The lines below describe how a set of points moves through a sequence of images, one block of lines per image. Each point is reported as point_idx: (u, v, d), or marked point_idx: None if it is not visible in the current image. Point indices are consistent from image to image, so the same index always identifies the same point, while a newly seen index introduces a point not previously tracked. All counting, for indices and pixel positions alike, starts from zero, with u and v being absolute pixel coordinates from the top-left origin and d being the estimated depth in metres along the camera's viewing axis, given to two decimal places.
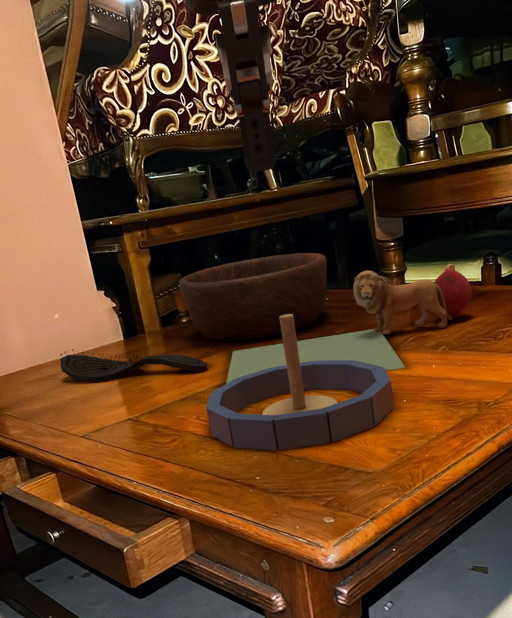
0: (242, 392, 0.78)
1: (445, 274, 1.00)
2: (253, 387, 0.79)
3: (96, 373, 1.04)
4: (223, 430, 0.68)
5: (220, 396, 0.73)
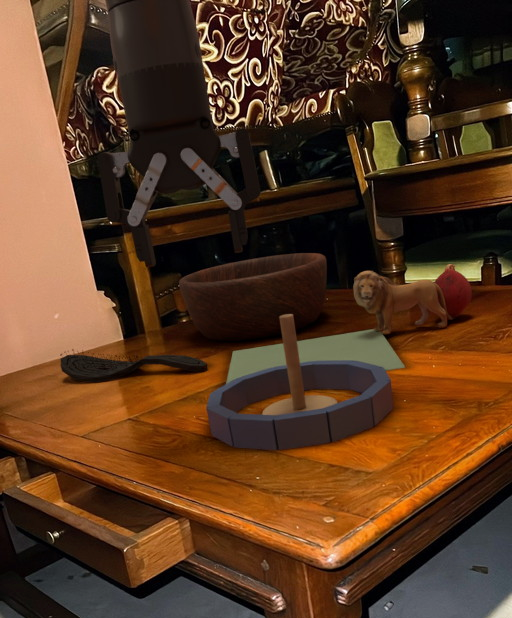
0: (242, 392, 0.78)
1: (445, 274, 1.00)
2: (253, 387, 0.79)
3: (96, 373, 1.04)
4: (223, 430, 0.68)
5: (220, 396, 0.73)
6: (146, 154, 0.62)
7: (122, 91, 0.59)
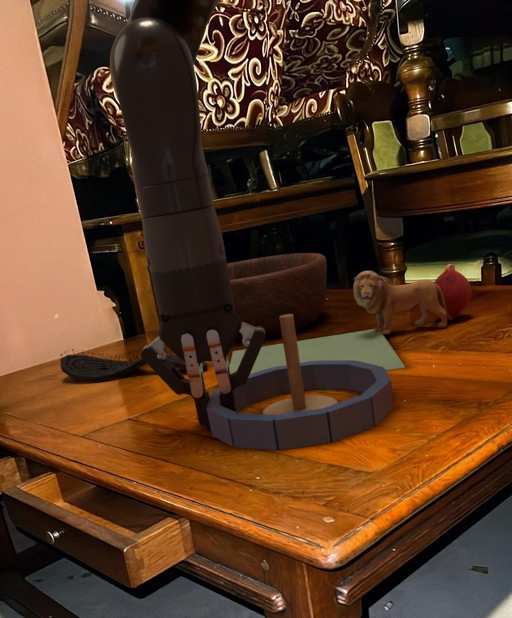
0: (242, 392, 0.78)
1: (445, 274, 1.00)
2: (253, 387, 0.79)
3: (96, 373, 1.04)
4: (223, 430, 0.68)
5: None
6: (175, 333, 0.69)
7: (154, 283, 0.67)
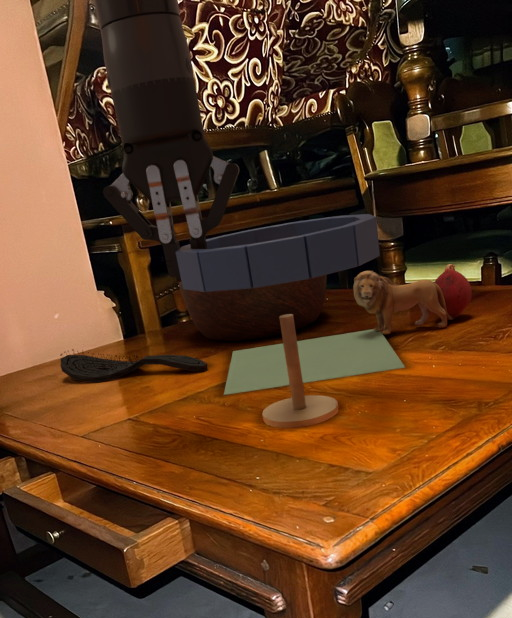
0: None
1: (445, 274, 1.00)
2: (229, 247, 0.73)
3: (96, 373, 1.04)
4: (193, 270, 0.62)
5: None
6: (140, 166, 0.63)
7: (116, 106, 0.61)
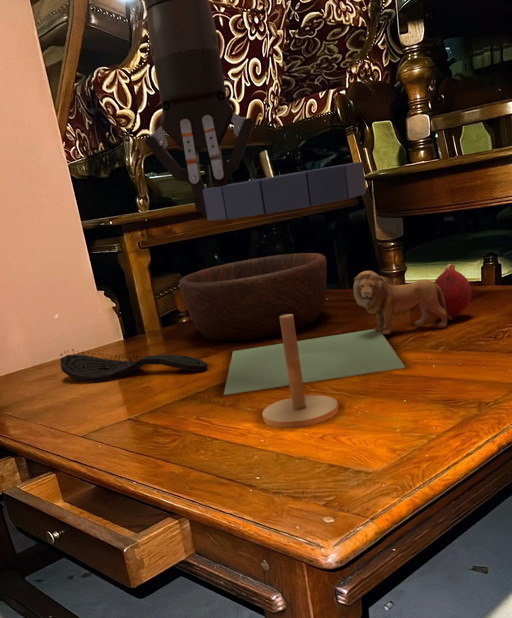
0: None
1: (445, 274, 1.00)
2: None
3: (96, 373, 1.04)
4: (217, 202, 0.78)
5: None
6: (175, 120, 0.79)
7: (157, 71, 0.77)
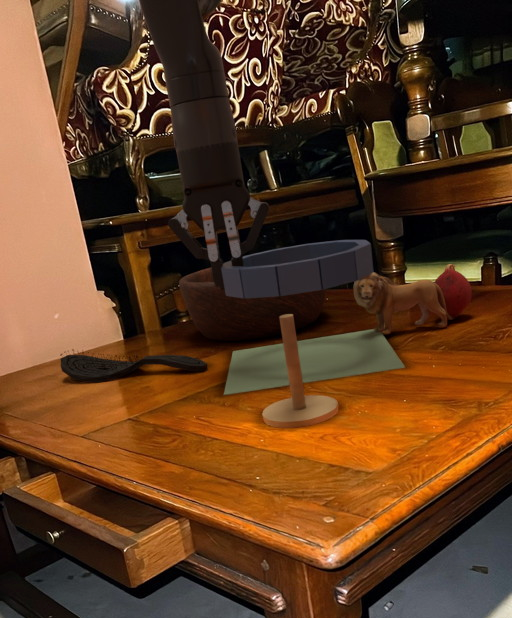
0: (249, 266, 0.94)
1: (445, 274, 1.00)
2: (258, 263, 0.95)
3: (96, 373, 1.04)
4: (235, 282, 0.84)
5: None
6: (196, 205, 0.85)
7: (180, 161, 0.83)
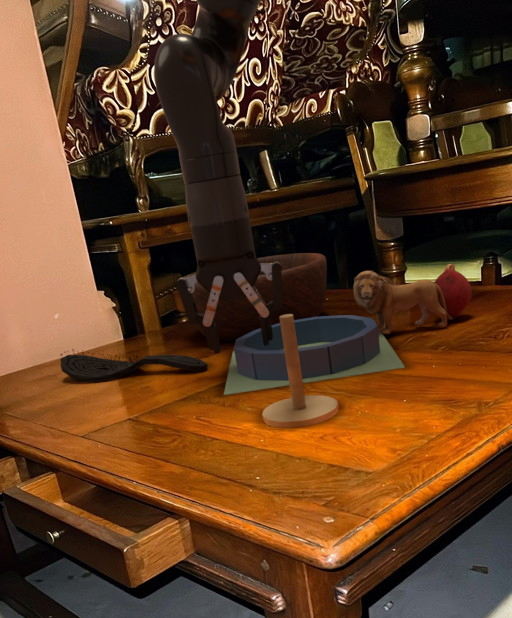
0: (260, 340, 0.98)
1: (445, 274, 1.00)
2: None
3: (96, 373, 1.04)
4: (247, 364, 0.88)
5: (244, 340, 0.93)
6: (209, 275, 0.88)
7: (194, 235, 0.86)
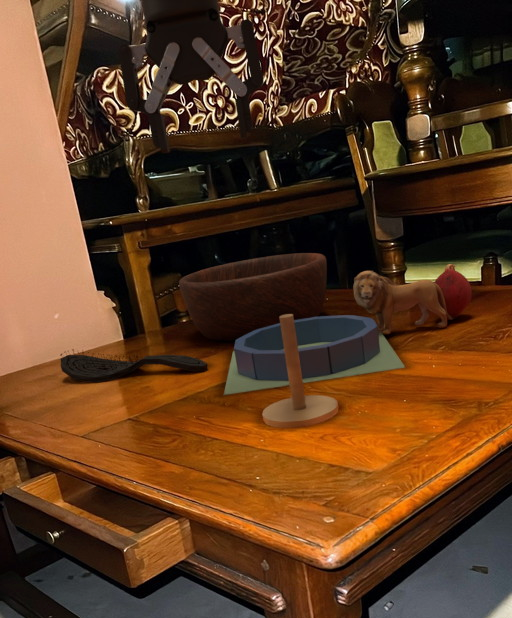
0: (260, 340, 0.98)
1: (445, 274, 1.00)
2: (269, 336, 0.99)
3: (96, 373, 1.04)
4: (247, 364, 0.88)
5: (244, 340, 0.93)
6: (161, 45, 0.69)
7: None
